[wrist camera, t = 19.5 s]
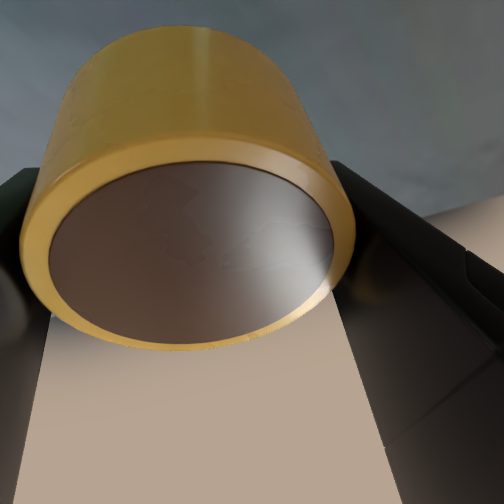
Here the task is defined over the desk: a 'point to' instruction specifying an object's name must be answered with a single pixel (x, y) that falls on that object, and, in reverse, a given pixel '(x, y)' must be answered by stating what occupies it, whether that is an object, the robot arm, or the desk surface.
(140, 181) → the yellow cup with coffee
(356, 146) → the desk surface
